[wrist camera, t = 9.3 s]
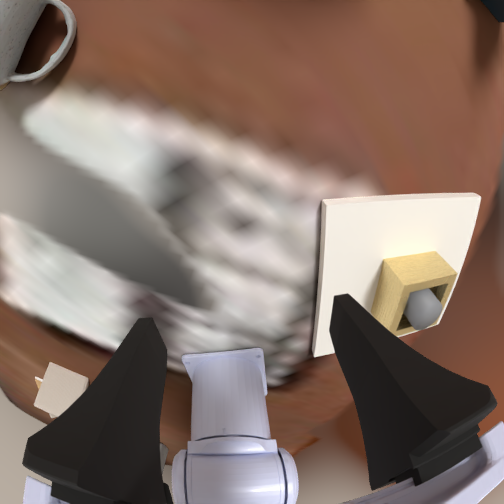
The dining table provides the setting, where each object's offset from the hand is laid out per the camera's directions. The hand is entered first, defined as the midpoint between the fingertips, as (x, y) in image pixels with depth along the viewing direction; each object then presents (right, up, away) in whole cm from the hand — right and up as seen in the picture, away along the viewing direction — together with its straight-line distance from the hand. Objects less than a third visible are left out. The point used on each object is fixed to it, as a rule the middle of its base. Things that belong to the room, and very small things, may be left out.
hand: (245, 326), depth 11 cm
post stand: (+14, +1, +12) cm, 18 cm away
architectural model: (-23, -12, +17) cm, 32 cm away
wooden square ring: (+14, 0, +11) cm, 18 cm away
